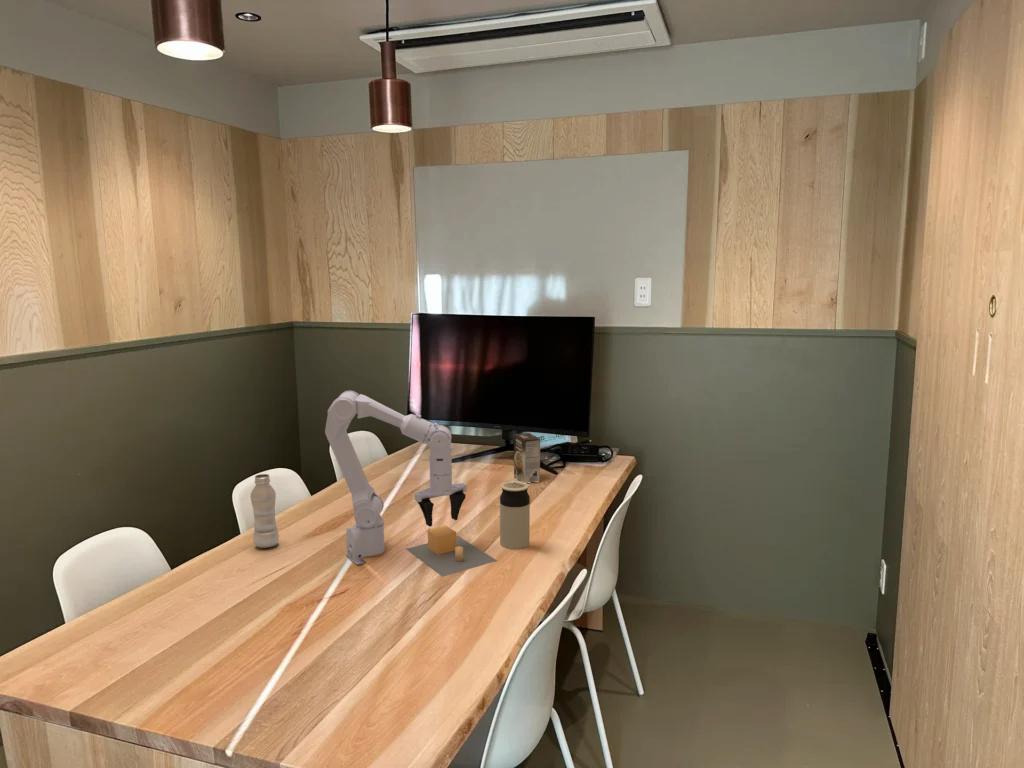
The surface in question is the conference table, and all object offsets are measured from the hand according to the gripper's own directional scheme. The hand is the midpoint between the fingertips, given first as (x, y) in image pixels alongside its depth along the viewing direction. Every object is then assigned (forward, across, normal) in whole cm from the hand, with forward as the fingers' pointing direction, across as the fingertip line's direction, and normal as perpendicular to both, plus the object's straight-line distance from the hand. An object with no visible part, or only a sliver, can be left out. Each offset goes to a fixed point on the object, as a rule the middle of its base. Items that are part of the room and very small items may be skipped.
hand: (441, 522), depth 183 cm
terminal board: (+9, 0, -4) cm, 10 cm away
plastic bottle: (+9, -37, +32) cm, 50 cm away
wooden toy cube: (+8, 0, 0) cm, 8 cm away
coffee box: (+9, +56, +39) cm, 69 cm away
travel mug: (+9, +18, -8) cm, 22 cm away
